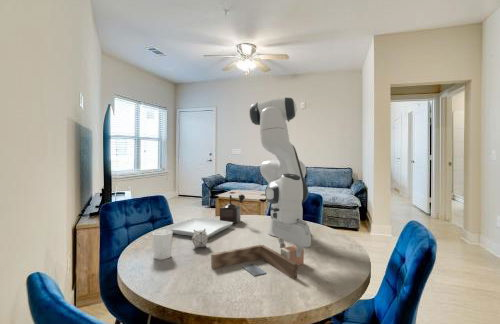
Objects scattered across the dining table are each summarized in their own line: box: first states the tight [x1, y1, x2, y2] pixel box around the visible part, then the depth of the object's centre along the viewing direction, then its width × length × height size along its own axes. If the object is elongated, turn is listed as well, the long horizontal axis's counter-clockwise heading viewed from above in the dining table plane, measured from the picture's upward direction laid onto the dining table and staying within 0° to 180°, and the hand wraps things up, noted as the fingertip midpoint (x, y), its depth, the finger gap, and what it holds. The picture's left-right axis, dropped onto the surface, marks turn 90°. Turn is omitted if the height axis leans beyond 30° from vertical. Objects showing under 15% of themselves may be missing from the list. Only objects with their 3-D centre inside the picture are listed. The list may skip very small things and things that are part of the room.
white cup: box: [151, 229, 174, 260], centre depth 113 cm, size 8×8×10 cm
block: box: [280, 245, 305, 266], centre depth 107 cm, size 8×4×6 cm, turn 120°
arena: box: [210, 244, 299, 280], centre depth 99 cm, size 22×22×5 cm
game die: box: [189, 229, 211, 250], centre depth 124 cm, size 9×8×10 cm
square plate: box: [163, 217, 233, 238], centre depth 150 cm, size 27×27×4 cm
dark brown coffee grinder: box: [219, 194, 246, 225], centre depth 168 cm, size 16×11×18 cm
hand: (289, 252), depth 106 cm, fingers open, 8 cm apart
